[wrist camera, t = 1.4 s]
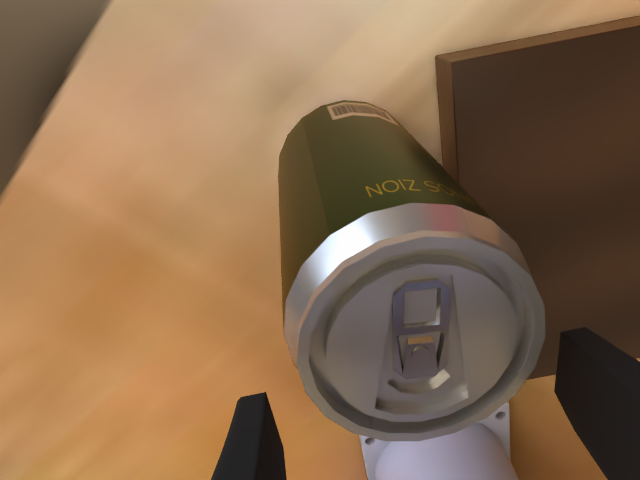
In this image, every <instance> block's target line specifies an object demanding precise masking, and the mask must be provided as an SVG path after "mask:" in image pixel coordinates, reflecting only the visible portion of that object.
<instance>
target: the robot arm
mask: <svg viewBox="0 0 640 480" xmlns="http://www.w3.org/2000/svg"><path fill="white" fill-rule="evenodd" d="M555 393H556V395H557V397H558V399H559V401H560V403H561V405H562V407H563V409H564V411H565V413H566V415H567V417H568V419H569V421H570V423H571V425H572V426H573V428H574V430H575V432H576V433H577V435H578V436H579V438H580V439H581V441H582V442H583V444H584V445H585V447H586V448H587V450H588V451H589V453H590V454H591V456H592V457H593V459H594V460H595V462H596V463H597V465H598V466H599V467H600V469H601V470H602V472H603V473H604V475H605V476H606V478H607V479H608V480H640V362H639V361H637V360H636V359H634V358H633V357H631V356H630V355H628V354H627V353H625V352H624V351H622V350H620V349H619V348H617V347H616V346H614V345H613V344H611V343H610V342H608V341H607V340H605V339H604V338H602V337H601V336H599V335H597V334H596V333H594V332H593V331H591V330H590V329H588V328H586V327H582V328H577V329H572V330H567V331H563V332H560V342H559V352H558V362H557V371H556V381H555ZM499 412H500V413H499ZM497 413H498V414H497ZM359 436H360V441H361V447H362V452H363V457H364V462H365V467H366V472H367V477H368V480H519V478H518V476H517V474H516V472H515V470H514V468H513V466H512V464H511V462H510V405H509V403H508V401H507V402H506V403H505V404H503V405H502V406H501V407H500V408H498V409H497V410H496V411H495V412H493V413H492V414H491V415H490V416H489V417H487V418H485V419H483V420H481V421H479V422H477V423H475V424H473V425H471V426H469V427H467V428H465V429H462V430H460V431H458V432H456V433H453V434H449V435H445V436H441V437H436V438H432V439H428V440H423V441H382V440H378V439H374V438H370V439H367V438H369V437H366V436H362V435H359ZM211 480H286V470H285V460H284V450H283V445H282V442H281V439H280V436H279V432H278V429H277V426H276V423H275V420H274V417H273V413H272V410H271V407H270V404H269V401H268V398H267V394H266V392H264V393H259V394H255V395H250V396H245V397H241V398H240V399H239V400H238V401H237V405H236V409H235V412H234V416H233V419H232V423H231V426H230V429H229V432H228V435H227V438H226V441H225V444H224V447H223V450H222V452H221V455H220V458H219V460H218V463H217V465H216V468H215V471H214V473H213V476H212V478H211Z"/></svg>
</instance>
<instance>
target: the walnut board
mask: <svg viewBox="0 0 640 480" xmlns="http://www.w3.org/2000/svg"><path fill="white" fill-rule="evenodd" d="M435 61H436V75H437V90H438V104H439V119H440V133H441V147H442V162H443V168H444V169H445V170H446V171H447V172H448V173H449V174H450V175H451V176H452V177H453V178H454V179H455V180H456V181H457V182H458V183H459V184H460V185H461V186H462V187H463V188H464V189H465V190H466V192H467V193H468V194H469V195H470V196H471V197H472V198H473V199H474V200H475V201H476V202H477V203H478V204H479V205H480V206H481V207H482V208H483V209H484V210H485V211H486V212H487V213H488V214H489V215H490V216H491V217H492V218H493V219H494V220H495V221H496V222H497V223H498V224H499V225H500V226H501V227H502V228H503V229H504V230H505V231H506V232H507V233H508V234H509V235H510V236H511V237H512V238H513V239H514V240H515V241H516V243H517V244H518V246H519V248H520V250H521V252H522V254H523V256H524V258H525V260H526V263H527V265H528V267H529V269H530V271H531V273H532V279H533V281H534V284H535V286H536V288H537V290H538V292H539V294H540V296H541V298H542V301H543V303H544V306H545V335H546V337H545V340H544V343H543V346H542V349H541V351H540V354H539V357H538V360H537V363H536V366H535V368H534V370H533V371H532V372H531V374H530V375H529V377H528V378H527V379H526V380H529V379H534V378H539V377H544V376H549V375H554V374H556V371H557V362H558V352H559V342H560V332H563V331H567V330H572V329H577V328H582V327H586V328H588V329H590V330H591V331H593V332H594V333H596V334H597V335H599V336H601V337H602V338H604V339H605V340H607V341H608V342H610V343H611V344H613V345H614V346H616V347H617V348H619V349H620V350H622V351H624V352H625V353H627V354H628V355H630V356H631V357H633V358H634V359H636V358H640V16H636V17H631V18H626V19H620V20H615V21H610V22H605V23H600V24H595V25H590V26H585V27H580V28H575V29H569V30H564V31H559V32H554V33H549V34H544V35H539V36H534V37H529V38H524V39H518V40H513V41H508V42H503V43H498V44H493V45H488V46H483V47H478V48H473V49H467V50H462V51H457V52H452V53H447V54H442V55H437V56H436V57H435Z"/></svg>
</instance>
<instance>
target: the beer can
mask: <svg viewBox="0 0 640 480" xmlns="http://www.w3.org/2000/svg"><path fill="white" fill-rule="evenodd" d="M278 184H279V214H280V243H281V273H282V303H283V333H284V337H285V340H286V343H287V346H288V349H289V352H290V355H291V358H292V361H293V364H294V366H295V367H296V368H297V369H298V370H299V373H300V376H301V379H302V382H303V386H304V389H305V392H306V394H307V395H308V396H309V398H310V399H311V400H312V401H313V402H314V404H315V405H316V406H317V407H318V408H319V410H320V411H321V412H322V413H323V414H324V416H325V417H327V418H328V419H330V420H332V421H333V422H335V423H337V424H338V425H340V426H342V427H343V428H345V429H347V430H348V431H350V432H352V433H354V434H358V435H362V436H366V437H370V438H374V439H378V440H382V441H423V440H428V439H432V438H436V437H441V436H445V435H449V434H453V433H456V432H458V431H460V430H462V429H465V428H467V427H469V426H471V425H473V424H475V423H477V422H479V421H481V420H483V419H485V418H487V417H489V416H490V415H491V414H492V413H493V412H495V411H496V410H497V409H498V408H500V407H501V406H502V405H503V404H505V403H506V402H507V401H508V400H510V399H511V398H512V397H513V396H514V395H515V394H516V393H517V392H518V390H519V389H520V387H521V386H522V385H523V383H524V382H525V381H526V379H527V378H528V377H529V375H530V374H531V372H532V371H533V370H534V368H535V366H536V363H537V360H538V357H539V354H540V351H541V349H542V346H543V343H544V340H545V337H546V335H545V306H544V303H543V301H542V298H541V296H540V294H539V292H538V290H537V288H536V286H535V284H534V281H533V279H532V273H531V271H530V269H529V267H528V265H527V263H526V260H525V258H524V256H523V254H522V252H521V250H520V248H519V246H518V244H517V243H516V241H515V240H514V239H513V238H512V237H511V236H510V235H509V234H508V233H507V232H506V231H505V230H504V229H503V228H502V227H501V226H500V225H499V224H498V223H497V222H496V221H495V220H494V219H493V218H492V217H491V216H490V215H489V214H488V213H487V212H486V211H485V210H484V209H483V208H482V207H481V206H480V205H479V204H478V203H477V202H476V201H475V200H474V199H473V198H472V197H471V196H470V195H469V194H468V193H467V192H466V190H465V189H464V188H463V187H462V186H461V185H460V184H459V183H458V182H457V181H456V180H455V179H454V178H453V177H452V176H451V175H450V174H449V173H448V172H447V171H446V170H445V169H444V168H443V167H442V166H441V165H440V164H439V163H438V162H437V161H436V160H435V159H434V158H433V157H432V156H431V155H430V154H429V153H428V152H427V151H426V150H425V149H424V148H423V147H422V146H421V145H420V144H419V143H418V142H417V141H416V139H415V138H414V137H413V136H412V135H411V134H410V133H409V132H408V131H407V130H406V129H405V128H404V127H403V126H402V125H401V124H400V123H399V122H397V121H396V120H395V119H394V118H393V117H392V116H391V115H390V114H389V113H388V112H387V111H385V110H383V109H381V108H378V107H376V106H374V105H371V104H369V103H367V102H357V101H344V100H343V101H339V102H335V103H331V104H327V105H323V106H320V107H319V108H317V109H316V110H314V111H312V112H311V113H309V114H308V115H306V116H304V117H303V118H302V119H301V120H300V121H299V122H298V123H297V125H296V126H295V127H294V128H293V129H292V130H291V132H290V133H289V134H288V135H287V138H286V140H285V143H284V145H283V148H282V150H281V153H280V155H279V172H278Z"/></svg>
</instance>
